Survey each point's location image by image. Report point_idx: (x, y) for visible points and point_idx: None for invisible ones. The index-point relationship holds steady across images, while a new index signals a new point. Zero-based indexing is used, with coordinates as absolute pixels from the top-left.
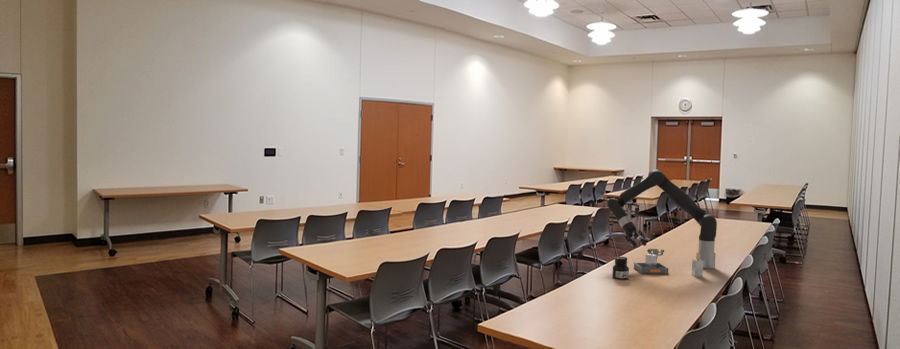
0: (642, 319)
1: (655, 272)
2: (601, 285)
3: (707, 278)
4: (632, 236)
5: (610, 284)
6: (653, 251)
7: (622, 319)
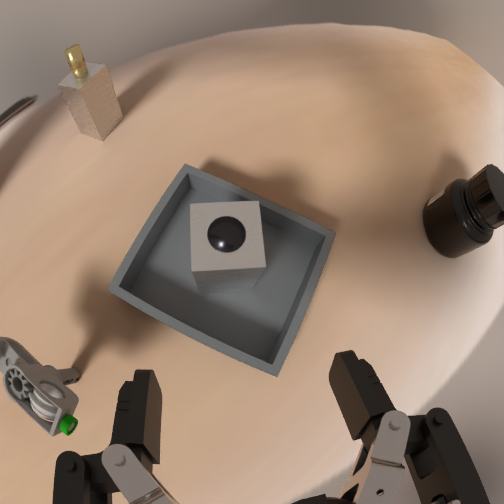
0: (461, 67)
1: None
2: None
3: None
4: (404, 467)
5: None
6: (40, 392)
7: (480, 83)
